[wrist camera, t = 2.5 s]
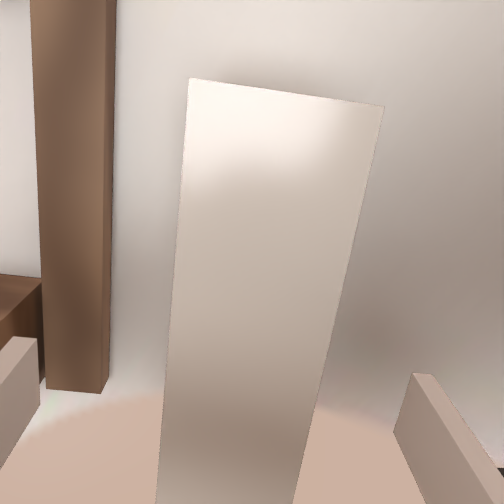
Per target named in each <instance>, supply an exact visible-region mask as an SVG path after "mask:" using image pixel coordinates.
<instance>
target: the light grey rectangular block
mask: <svg viewBox="0 0 504 504" xmlns="http://www.w3.org/2000/svg"><path fill="white" fill-rule="evenodd" d="M384 109H385V106H378V105H371V104H364V103H357V102H351V101H344V100H337V99H330V98H324V97H317V96H310V95H303V94H296V93H290V92H283V91H276V90H269V89H263V88H256V87H249V86H242V85H235V84H229V83H222V82H215V81H208V80H202V79H195V78H189V88H188V101H187V113H186V126H185V138H184V151H183V163H182V176H181V189H180V201H179V214H178V226H177V239H176V251H175V264H174V276H173V289H172V302H171V314H170V327H169V339H168V352H167V364H166V377H165V389H164V402H163V415H162V428H161V440H160V452H159V465H158V478H157V490H156V502H155V504H292V501H293V498H294V494H295V489H296V484H297V481H298V477H299V472H300V468H301V464H302V459H303V455H304V450H305V447H306V442H307V438H308V434H309V429H310V425H311V421H312V417H313V412H314V408H315V404H316V400H317V395H318V391H319V387H320V382H321V378H322V374H323V370H324V365H325V361H326V357H327V353H328V348H329V344H330V340H331V335H332V331H333V327H334V323H335V318H336V314H337V310H338V306H339V301H340V297H341V293H342V288H343V284H344V280H345V276H346V271H347V267H348V263H349V258H350V254H351V250H352V246H353V241H354V237H355V233H356V229H357V224H358V220H359V216H360V211H361V207H362V203H363V199H364V194H365V190H366V186H367V181H368V177H369V173H370V169H371V164H372V160H373V156H374V152H375V147H376V143H377V139H378V134H379V130H380V126H381V122H382V117H383V113H384Z"/></svg>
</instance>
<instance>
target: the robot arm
mask: <svg viewBox="0 0 504 504" xmlns="http://www.w3.org/2000/svg"><path fill="white" fill-rule="evenodd" d="M39 406H40V389H39V369H38V349H37V338H26V337H15V336H13V337H12V338H11V339H10V341H9V342H8V343H7V344H6V345H5V346H4V347H3V349H2V350H1V351H0V469H1V468H2V466H3V465H4V463H5V461H6V460H7V458H8V456H9V455H10V453H11V451H12V450H13V448H14V447H15V445H16V443H17V442H18V440H19V438H20V437H21V435H22V433H23V432H24V430H25V429H26V427H27V425H28V424H29V422H30V420H31V419H32V417H33V415H34V414H35V412H36V411H37V409H38V407H39ZM393 433H394V435H395V437H396V439H397V442H398V444H399V446H400V448H401V450H402V452H403V455H404V457H405V459H406V461H407V463H408V465H409V468H410V470H411V472H412V474H413V476H414V478H415V481H416V483H417V485H418V487H419V489H420V492H421V494H422V496H423V498H424V500H425V502H426V504H504V468H497V467H496V466H495V465H494V463H493V462H492V460H491V459H490V457H489V456H488V454H487V453H486V451H485V450H484V449H483V447H482V446H481V444H480V443H479V441H478V440H477V438H476V437H475V436H474V434H473V433H472V431H471V430H470V428H469V427H468V425H467V424H466V422H465V421H464V420H463V418H462V417H461V415H460V414H459V412H458V411H457V409H456V408H455V407H454V405H453V404H452V402H451V401H450V399H449V398H448V396H447V395H446V393H445V392H444V391H443V389H442V388H441V386H440V385H439V383H438V382H437V380H436V379H435V378H434V376H433V375H432V374H422V373H412V375H411V378H410V381H409V384H408V387H407V390H406V393H405V397H404V400H403V403H402V406H401V409H400V412H399V415H398V418H397V422H396V425H395V428H394V431H393Z"/></svg>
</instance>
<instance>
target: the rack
mask: <svg viewBox="0 0 504 504" xmlns="http://www.w3.org/2000/svg"><path fill="white" fill-rule="evenodd" d="M30 18H31V42H32V66H33V90H34V114H35V137H36V161H37V185H38V209H39V233H40V257H41V278H32V277H23V276H14V275H5V274H0V351H1V350H2V349H3V347H4V346H5V345H6V344H7V343H8V342H9V341H10V339H11V338H12V337H13V336H15V337H26V338H37V349H38V369H39V384H40V383H41V381H42V380H43V378H44V377H45V376H46V389H53V390H64V391H74V392H85V393H96V394H101V392H102V390H103V388H104V386H105V384H106V382H107V380H108V377H109V332H110V283H111V234H112V184H113V135H114V86H115V36H116V0H30Z"/></svg>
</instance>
